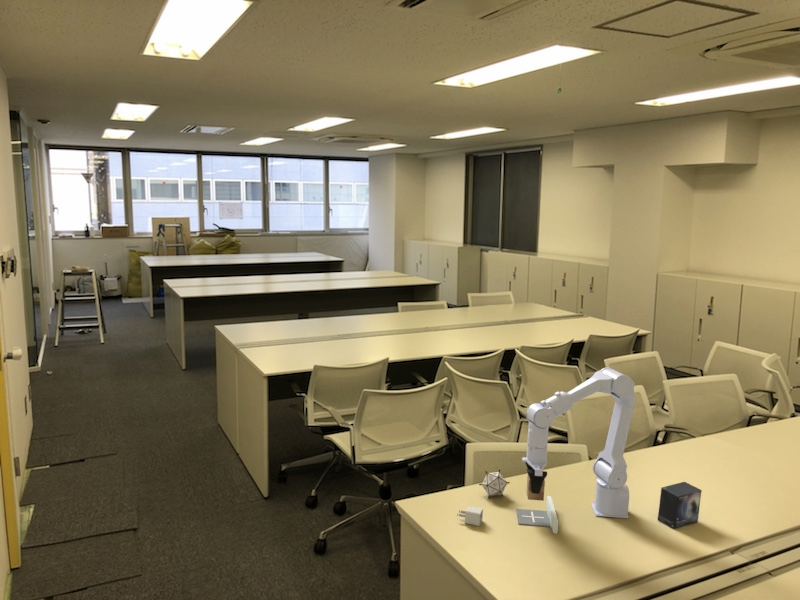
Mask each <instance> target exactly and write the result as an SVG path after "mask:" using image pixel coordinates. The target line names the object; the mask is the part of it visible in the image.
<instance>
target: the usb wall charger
mask: <svg viewBox="0 0 800 600" xmlns="http://www.w3.org/2000/svg"><path fill="white" fill-rule="evenodd" d="M456 516H457V517H460V518H464V524H466V525H471V526H476V527H481V524H482V522H483V518H484V517H483V516H484V509H483V508H481V507H475V506H469V505H468V506H467V507H466V509H465V510H458V513H456Z"/></svg>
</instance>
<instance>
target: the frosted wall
mask: <svg viewBox="0 0 800 600" xmlns="http://www.w3.org/2000/svg"><path fill="white" fill-rule="evenodd" d="M545 505H546V511H547V515H548V519H549V523H550V527H551V529H552V533H553V534H555V535H556V534H558V531H559V520H558V517H557V513H556V510H555V505H554V501H553V498H552V496H551V495H547V496H546V503H545Z"/></svg>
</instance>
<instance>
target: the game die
mask: <svg viewBox="0 0 800 600" xmlns="http://www.w3.org/2000/svg"><path fill="white" fill-rule="evenodd" d="M484 472H485V476H484V478H483V480H482V482H481V483H479V484H478V486H482V488H483V489H484V490H485V492H486V493H487V495H488V497H487V499H490V498H491V497H493V496H500V495H501V497H504V494H503V493H504V491H505V489H506V486H507V485H508V484H510V483H511V482H510V481H507V480H506V479H505V478H504V476H503V474H502V473H501V468H499V469H498V471H491V472H490V471H489V472H488V471H486V470H485V471H484Z"/></svg>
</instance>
